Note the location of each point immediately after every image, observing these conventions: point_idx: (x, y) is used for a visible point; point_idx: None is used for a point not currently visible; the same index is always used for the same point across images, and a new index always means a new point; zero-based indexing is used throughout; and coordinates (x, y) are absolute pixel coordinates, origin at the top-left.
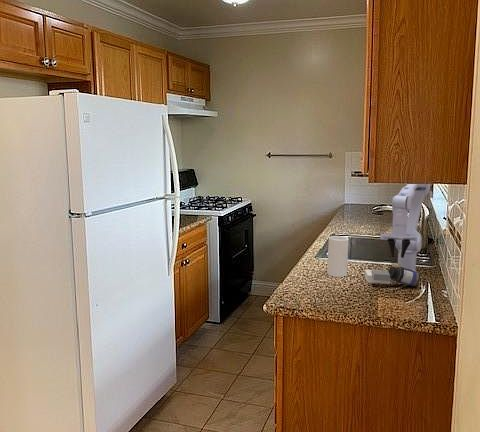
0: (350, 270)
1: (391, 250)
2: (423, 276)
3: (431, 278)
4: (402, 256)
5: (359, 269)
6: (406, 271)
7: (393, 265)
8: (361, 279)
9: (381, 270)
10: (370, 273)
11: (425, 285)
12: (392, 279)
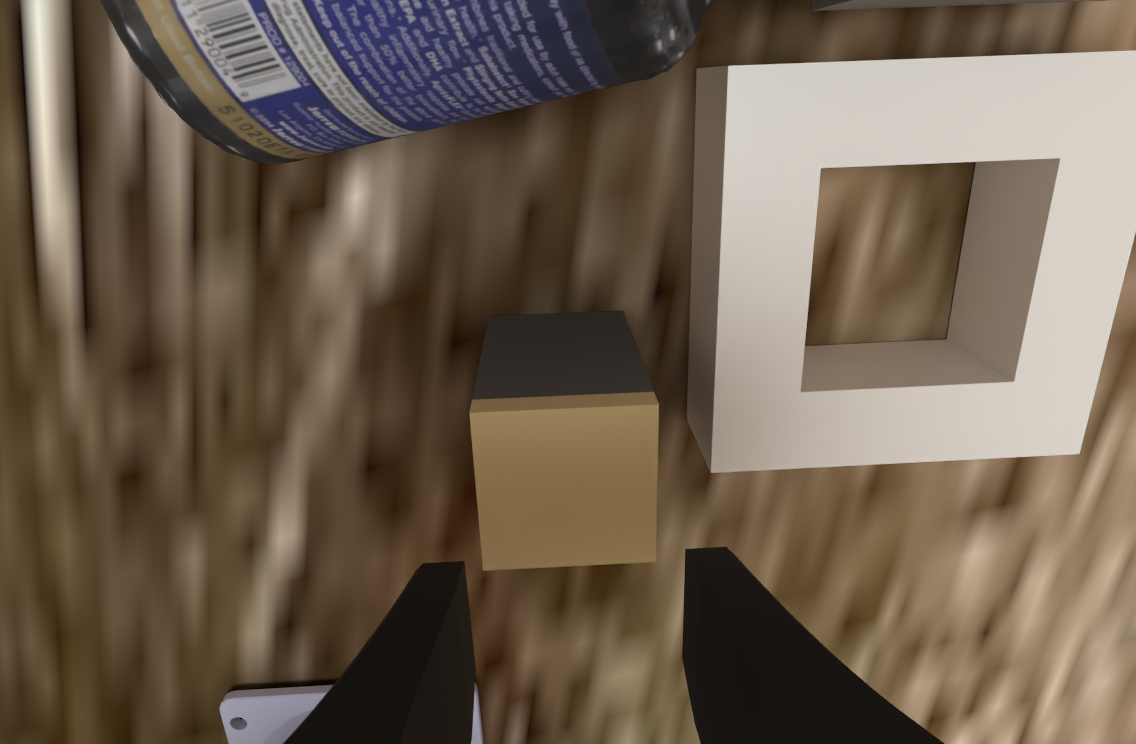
0: (1107, 639)
1: (852, 681)
2: (148, 608)
3: (32, 542)
4: (447, 579)
5: (968, 707)
6: None
7: (643, 453)
8: None
9: (805, 464)
10: (1073, 208)
11: (104, 125)
12: (620, 313)
